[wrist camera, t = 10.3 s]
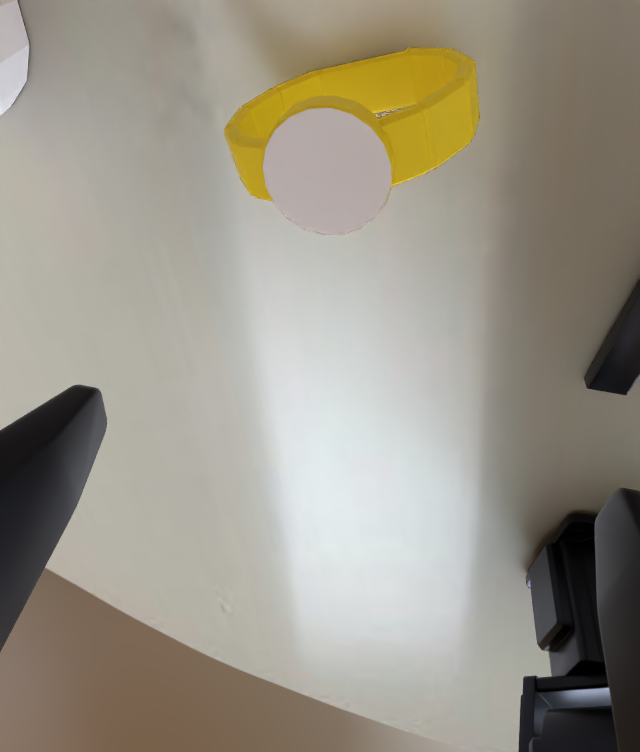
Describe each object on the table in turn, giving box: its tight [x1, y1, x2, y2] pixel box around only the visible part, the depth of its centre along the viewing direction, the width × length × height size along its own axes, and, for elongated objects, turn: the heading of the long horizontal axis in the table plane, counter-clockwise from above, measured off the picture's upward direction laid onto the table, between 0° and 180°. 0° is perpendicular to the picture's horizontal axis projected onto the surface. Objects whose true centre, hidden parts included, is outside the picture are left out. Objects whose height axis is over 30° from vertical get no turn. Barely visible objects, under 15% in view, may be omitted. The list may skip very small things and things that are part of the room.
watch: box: [224, 47, 480, 235], centre depth 14 cm, size 6×3×6 cm, turn 105°
